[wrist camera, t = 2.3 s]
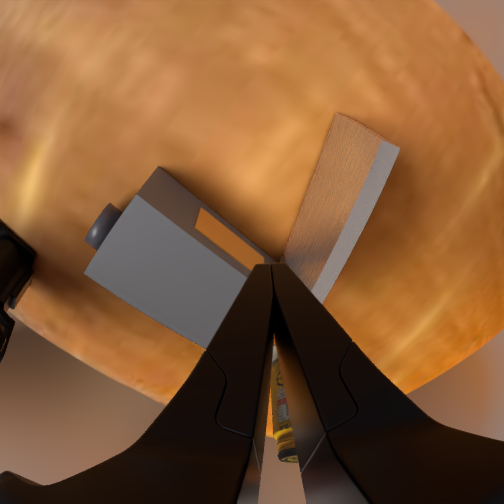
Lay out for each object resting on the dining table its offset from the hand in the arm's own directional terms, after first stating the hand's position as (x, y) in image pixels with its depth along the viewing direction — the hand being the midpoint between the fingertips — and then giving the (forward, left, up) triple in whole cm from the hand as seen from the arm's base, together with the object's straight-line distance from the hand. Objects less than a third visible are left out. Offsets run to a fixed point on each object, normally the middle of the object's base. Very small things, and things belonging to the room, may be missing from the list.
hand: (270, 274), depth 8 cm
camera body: (+2, -9, -12) cm, 15 cm away
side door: (+5, +1, -12) cm, 13 cm away
